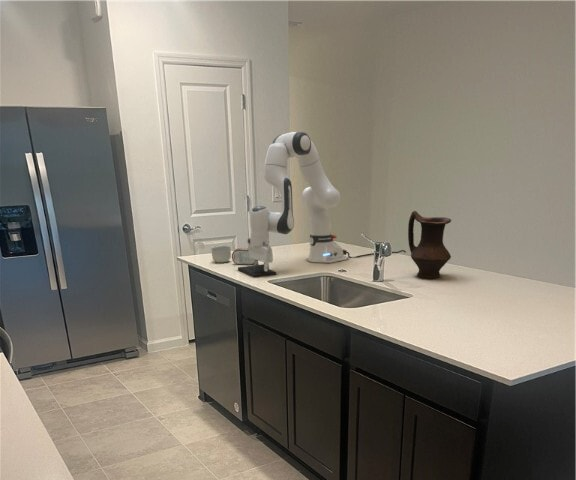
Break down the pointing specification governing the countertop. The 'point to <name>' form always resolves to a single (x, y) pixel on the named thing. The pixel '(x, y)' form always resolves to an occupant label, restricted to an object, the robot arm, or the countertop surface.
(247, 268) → the base pad
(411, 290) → the countertop surface
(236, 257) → the tin
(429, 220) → the jug
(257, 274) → the loose pad
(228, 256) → the teacup
